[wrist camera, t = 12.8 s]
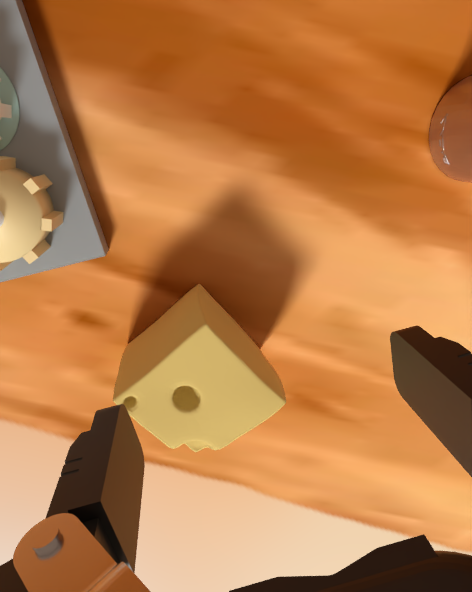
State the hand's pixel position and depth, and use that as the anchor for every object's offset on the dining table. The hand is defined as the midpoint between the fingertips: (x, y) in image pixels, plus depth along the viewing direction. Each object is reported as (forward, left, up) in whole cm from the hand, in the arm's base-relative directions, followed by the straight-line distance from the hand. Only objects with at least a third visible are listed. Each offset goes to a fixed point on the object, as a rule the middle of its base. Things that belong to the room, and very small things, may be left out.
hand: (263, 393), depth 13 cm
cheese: (+4, +12, -28) cm, 31 cm away
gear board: (+15, -10, -28) cm, 33 cm away
